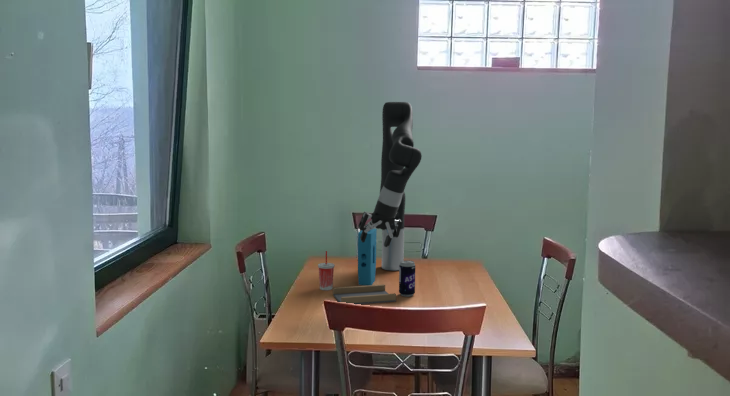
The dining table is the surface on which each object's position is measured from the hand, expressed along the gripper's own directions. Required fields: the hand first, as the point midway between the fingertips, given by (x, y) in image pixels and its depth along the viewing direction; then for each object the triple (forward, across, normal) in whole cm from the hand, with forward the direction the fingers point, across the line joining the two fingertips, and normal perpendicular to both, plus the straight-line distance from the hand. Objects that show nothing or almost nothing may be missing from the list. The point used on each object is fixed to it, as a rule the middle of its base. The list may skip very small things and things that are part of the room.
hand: (373, 243), depth 209 cm
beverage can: (+15, -17, +3) cm, 23 cm away
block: (+23, -9, -16) cm, 29 cm away
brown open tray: (+19, -2, +4) cm, 19 cm away
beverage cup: (+26, +8, -10) cm, 29 cm away
